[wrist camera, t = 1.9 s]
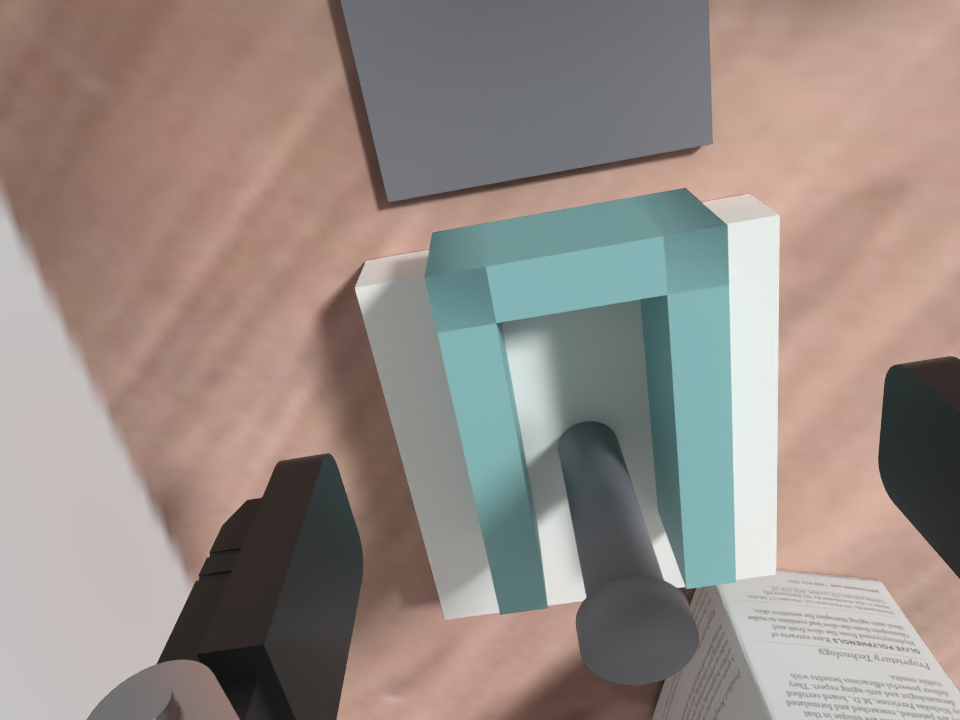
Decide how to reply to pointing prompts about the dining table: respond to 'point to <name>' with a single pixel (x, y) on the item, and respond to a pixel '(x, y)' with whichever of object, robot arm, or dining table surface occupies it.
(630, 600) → the stand
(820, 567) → the dining table surface
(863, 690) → the skincare box
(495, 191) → the dining table surface
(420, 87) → the felt pad
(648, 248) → the c link
